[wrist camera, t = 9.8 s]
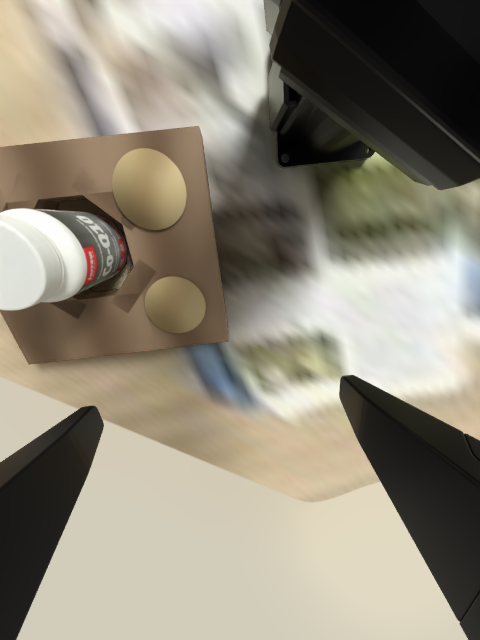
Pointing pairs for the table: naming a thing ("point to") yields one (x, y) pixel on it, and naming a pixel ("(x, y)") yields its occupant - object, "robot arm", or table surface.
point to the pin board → (142, 237)
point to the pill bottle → (55, 255)
